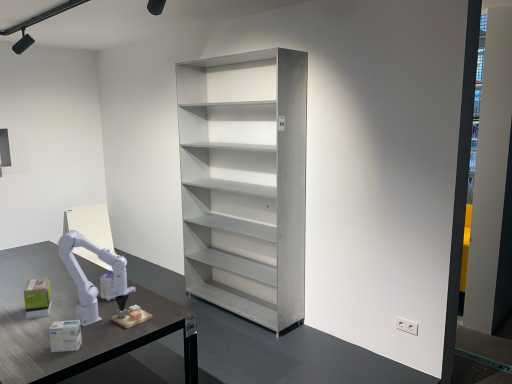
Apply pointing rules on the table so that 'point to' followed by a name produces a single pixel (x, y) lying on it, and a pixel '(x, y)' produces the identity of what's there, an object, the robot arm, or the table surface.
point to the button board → (128, 322)
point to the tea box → (37, 298)
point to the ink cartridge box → (107, 284)
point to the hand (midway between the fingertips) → (121, 309)
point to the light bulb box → (65, 336)
